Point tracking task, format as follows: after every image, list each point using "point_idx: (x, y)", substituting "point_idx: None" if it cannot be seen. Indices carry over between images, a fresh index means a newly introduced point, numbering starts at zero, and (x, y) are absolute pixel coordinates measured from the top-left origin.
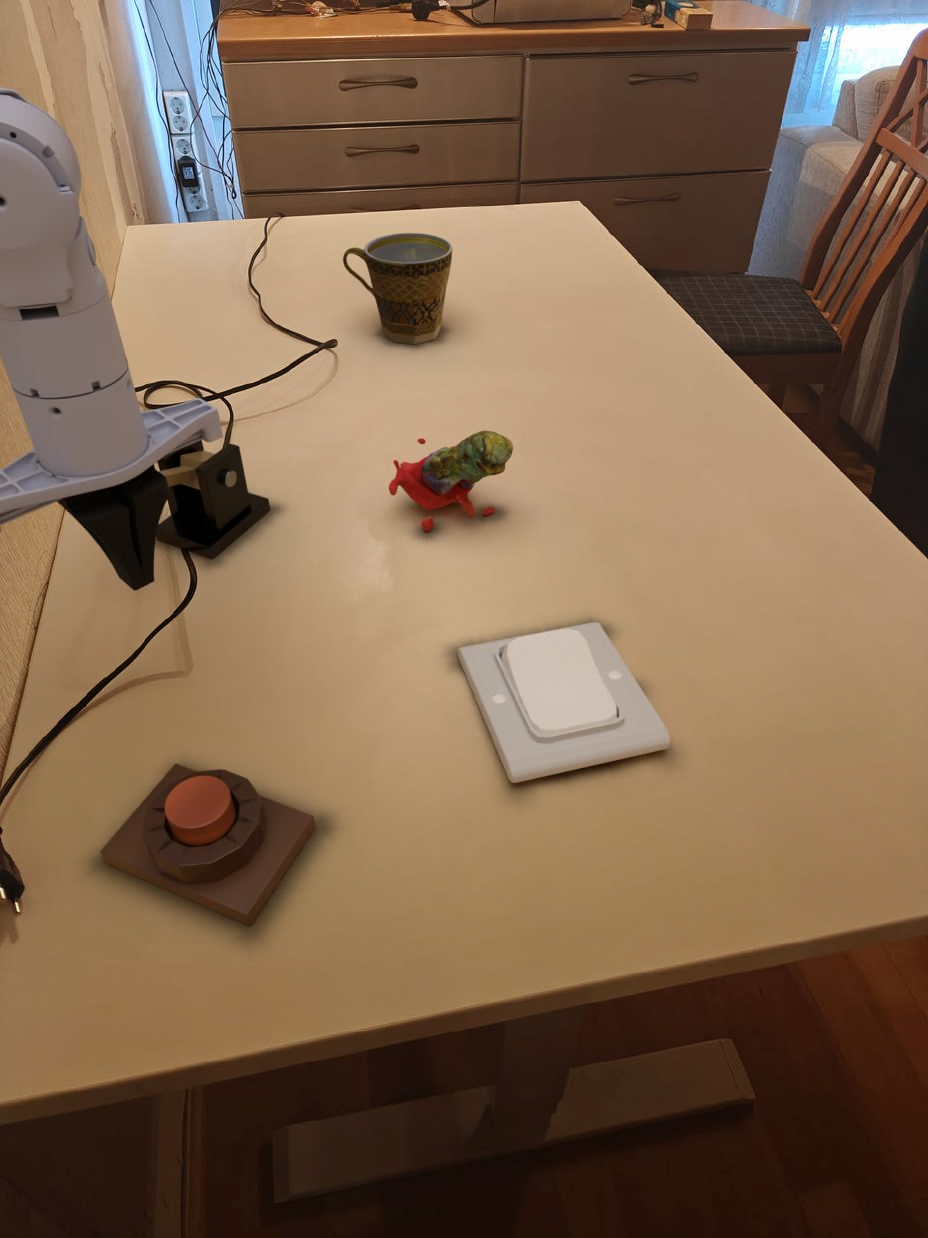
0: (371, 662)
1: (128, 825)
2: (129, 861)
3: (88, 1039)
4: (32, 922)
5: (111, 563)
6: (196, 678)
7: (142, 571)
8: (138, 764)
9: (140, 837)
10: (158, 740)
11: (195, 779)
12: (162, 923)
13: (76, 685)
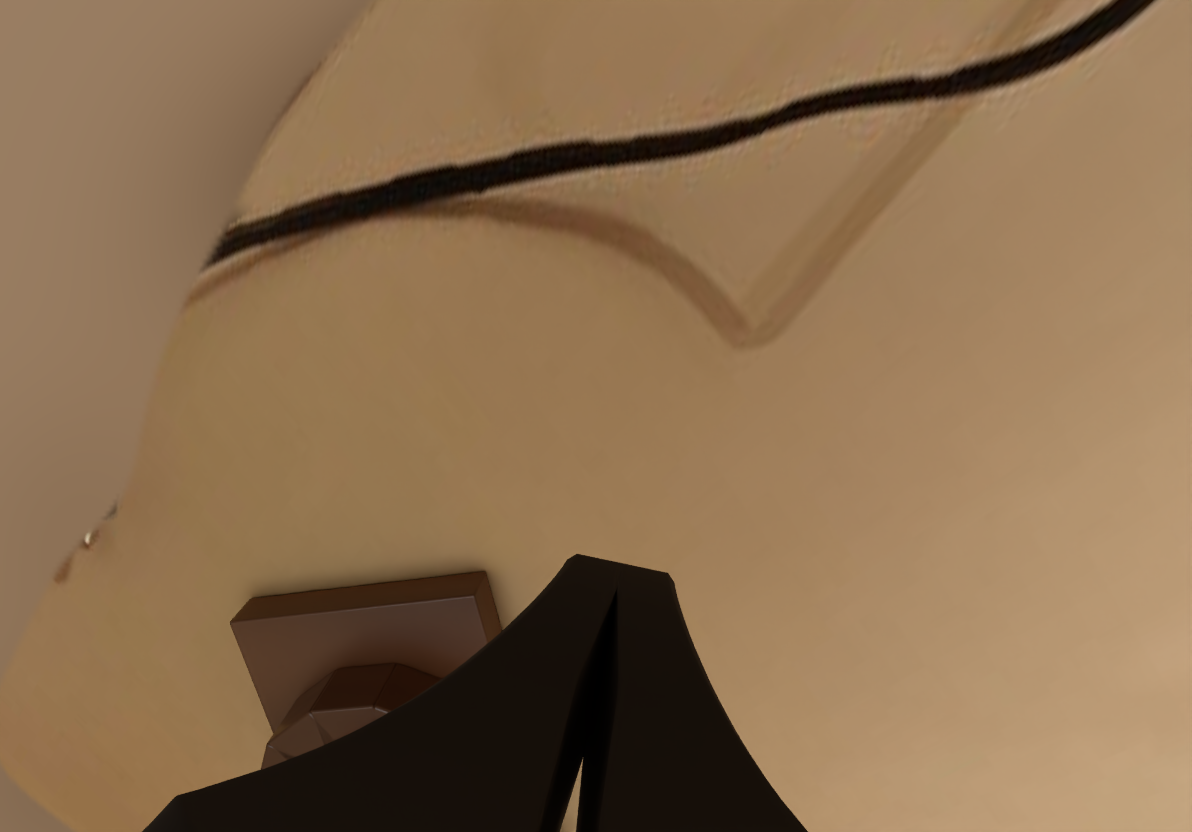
0: (1050, 724)
1: (303, 626)
2: (258, 683)
3: (80, 783)
4: (95, 578)
5: (551, 581)
6: (745, 379)
7: (582, 768)
8: (445, 470)
9: (303, 664)
10: (524, 456)
11: None
12: (257, 755)
13: (514, 90)
